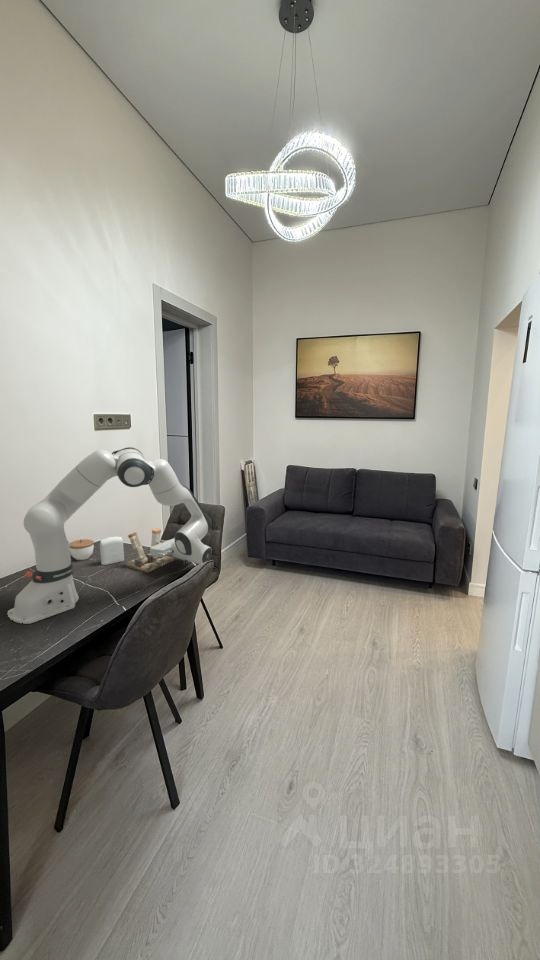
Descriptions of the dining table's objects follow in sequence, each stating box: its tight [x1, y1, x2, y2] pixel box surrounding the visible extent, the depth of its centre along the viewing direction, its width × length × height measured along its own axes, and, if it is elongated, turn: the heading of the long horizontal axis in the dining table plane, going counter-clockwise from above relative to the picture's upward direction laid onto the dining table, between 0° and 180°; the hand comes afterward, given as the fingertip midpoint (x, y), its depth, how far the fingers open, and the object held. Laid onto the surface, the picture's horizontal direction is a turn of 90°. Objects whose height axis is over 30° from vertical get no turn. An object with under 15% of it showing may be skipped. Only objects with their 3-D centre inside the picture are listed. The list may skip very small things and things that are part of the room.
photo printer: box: [99, 536, 125, 566], centre depth 178 cm, size 10×4×12 cm, turn 124°
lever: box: [150, 527, 162, 559], centre depth 177 cm, size 4×3×15 cm, turn 150°
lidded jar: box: [69, 538, 95, 561], centre depth 183 cm, size 11×11×9 cm
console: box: [125, 532, 174, 573], centre depth 177 cm, size 16×14×16 cm
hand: (158, 542), depth 177 cm, fingers closed, pressing on lever
